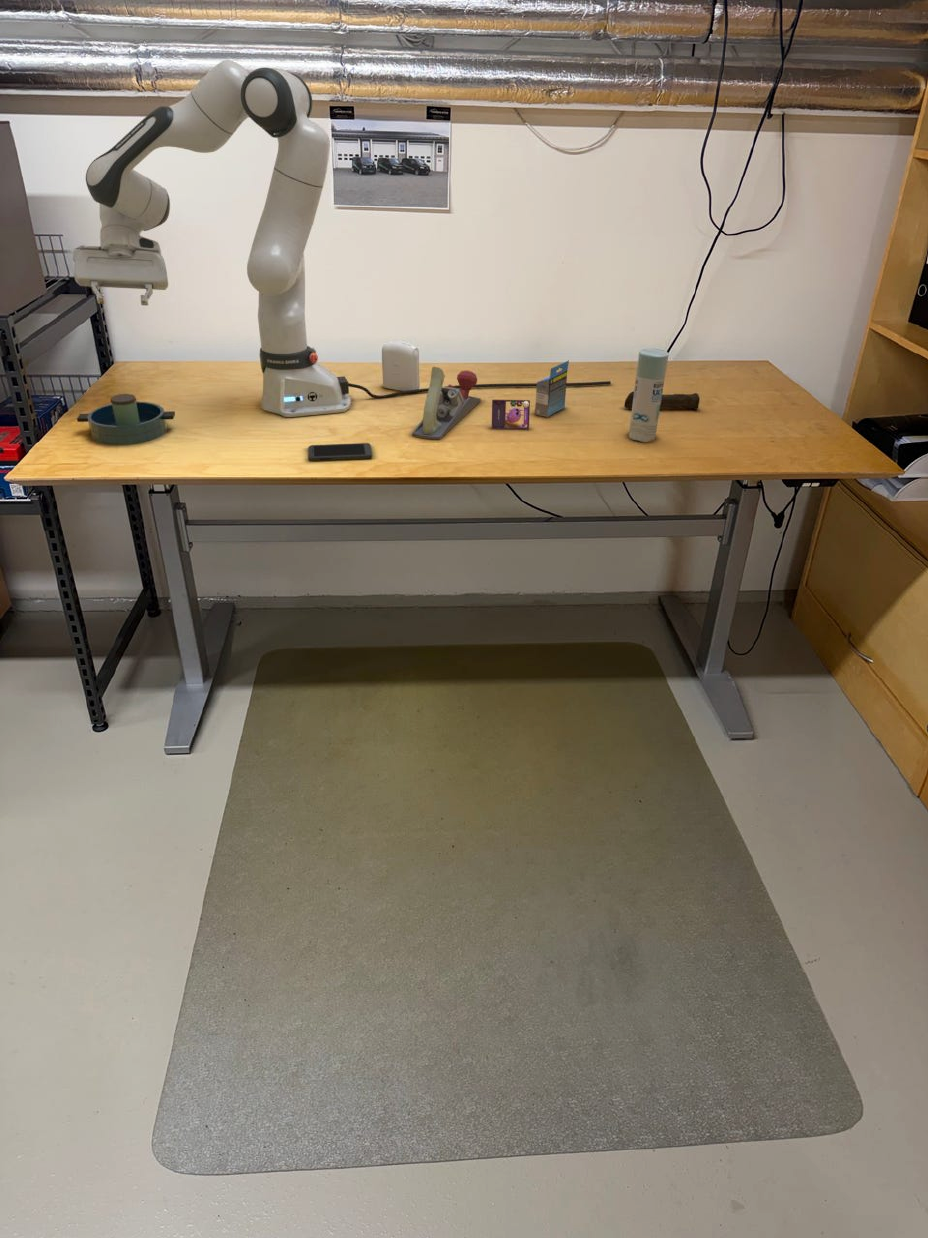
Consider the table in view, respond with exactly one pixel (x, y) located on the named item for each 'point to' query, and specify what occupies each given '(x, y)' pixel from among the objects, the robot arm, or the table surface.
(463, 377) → the hand plane
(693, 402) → the hand tool
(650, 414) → the spray paint can
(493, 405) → the purple cartoon box
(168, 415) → the pot ear handles
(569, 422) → the table surface
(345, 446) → the cell phone
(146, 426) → the pot
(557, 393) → the tape cartridge
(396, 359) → the photo printer
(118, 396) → the canister
